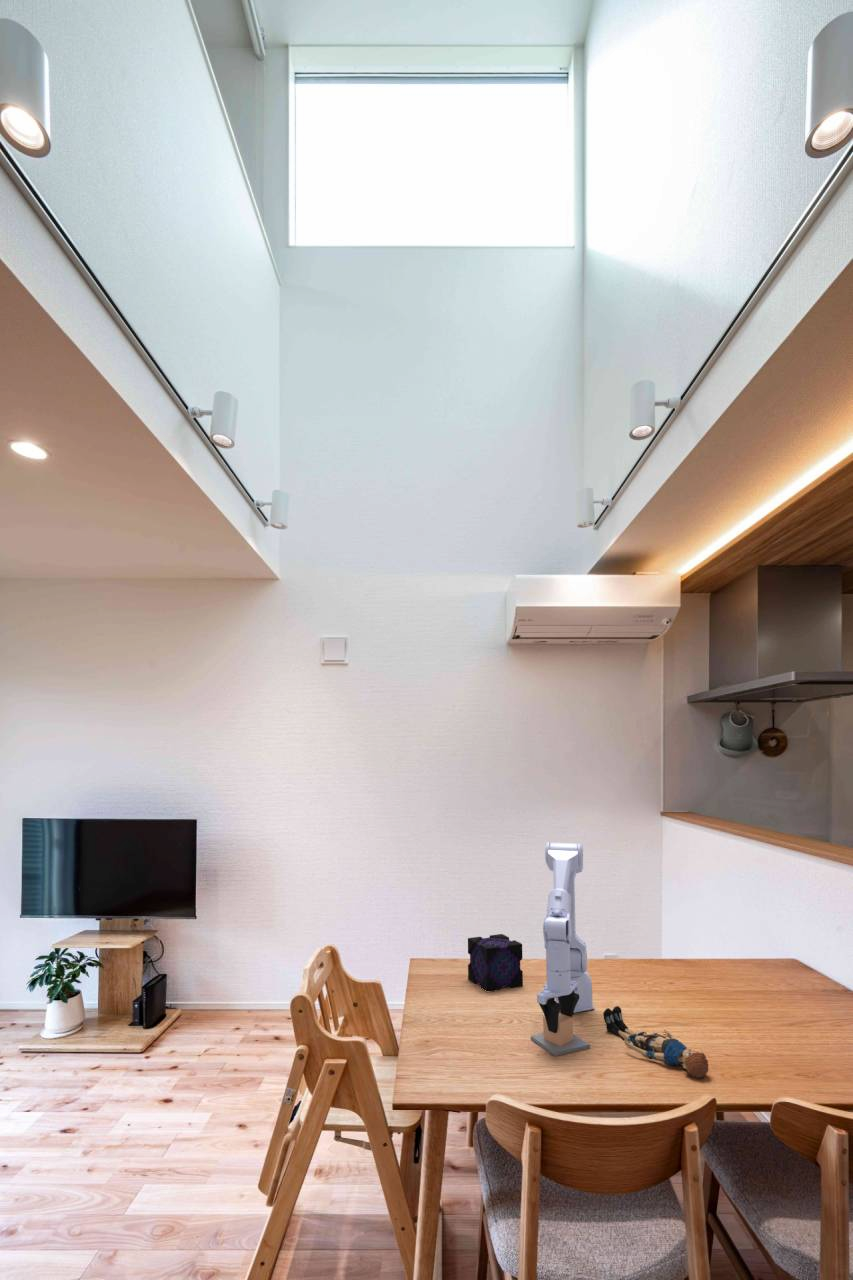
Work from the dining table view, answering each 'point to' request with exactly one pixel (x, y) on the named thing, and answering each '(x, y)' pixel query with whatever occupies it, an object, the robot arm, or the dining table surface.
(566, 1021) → the terracotta cube
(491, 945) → the energy cube
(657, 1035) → the figurine
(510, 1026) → the dining table surface
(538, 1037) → the plate
